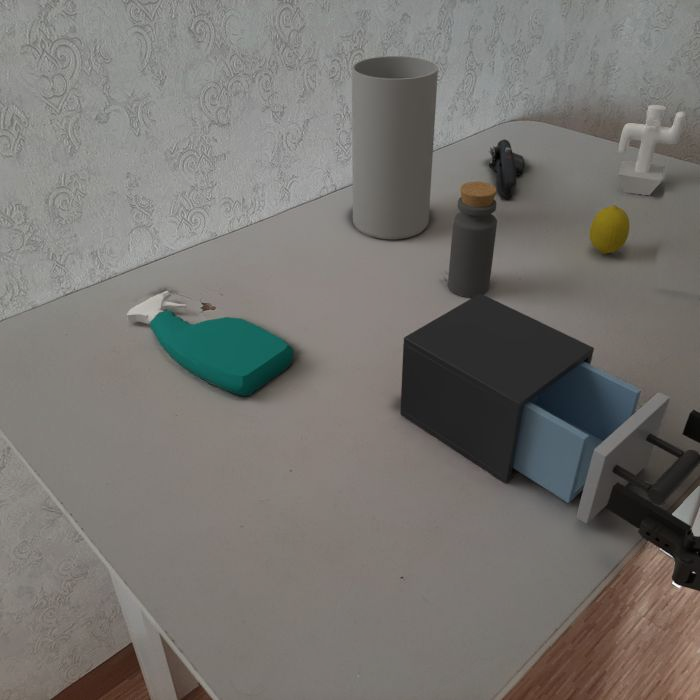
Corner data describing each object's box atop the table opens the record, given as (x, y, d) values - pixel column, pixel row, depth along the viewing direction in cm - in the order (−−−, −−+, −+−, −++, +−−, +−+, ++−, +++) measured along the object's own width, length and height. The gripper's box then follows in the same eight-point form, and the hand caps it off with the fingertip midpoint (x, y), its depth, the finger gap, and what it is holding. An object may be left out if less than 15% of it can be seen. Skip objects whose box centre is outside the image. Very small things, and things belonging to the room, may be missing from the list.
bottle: (439, 282, 103) (447, 184, 94) (473, 273, 105) (483, 176, 97) (462, 301, 99) (473, 201, 90) (497, 291, 101) (510, 192, 92)
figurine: (612, 178, 133) (630, 96, 124) (666, 186, 130) (688, 102, 121) (607, 193, 128) (625, 108, 119) (663, 201, 125) (686, 115, 116)
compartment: (696, 490, 70) (723, 422, 64) (636, 556, 63) (661, 488, 58) (536, 401, 80) (548, 337, 75) (472, 450, 74) (480, 384, 69)
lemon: (584, 259, 108) (594, 211, 104) (586, 243, 113) (596, 195, 108) (622, 265, 107) (634, 216, 102) (623, 248, 111) (635, 200, 106)
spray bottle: (238, 405, 82) (110, 331, 94) (303, 360, 88) (175, 297, 101) (235, 385, 80) (105, 312, 93) (301, 341, 87) (171, 279, 100)
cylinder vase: (411, 247, 112) (419, 83, 97) (340, 232, 116) (337, 73, 102) (438, 215, 121) (449, 61, 106) (371, 202, 125) (373, 52, 111)
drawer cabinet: (575, 425, 78) (594, 347, 72) (505, 484, 72) (519, 403, 65) (471, 367, 87) (480, 292, 81) (400, 414, 80) (403, 337, 74)
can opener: (486, 162, 140) (489, 134, 136) (523, 164, 139) (527, 136, 136) (485, 200, 126) (488, 170, 122) (525, 203, 125) (530, 172, 121)
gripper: (840, 753, 48) (566, 560, 60) (945, 545, 61) (704, 423, 74) (889, 694, 43) (582, 499, 56) (991, 484, 57) (726, 366, 69)
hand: (651, 456), depth 65 cm, fingers open, 13 cm apart
